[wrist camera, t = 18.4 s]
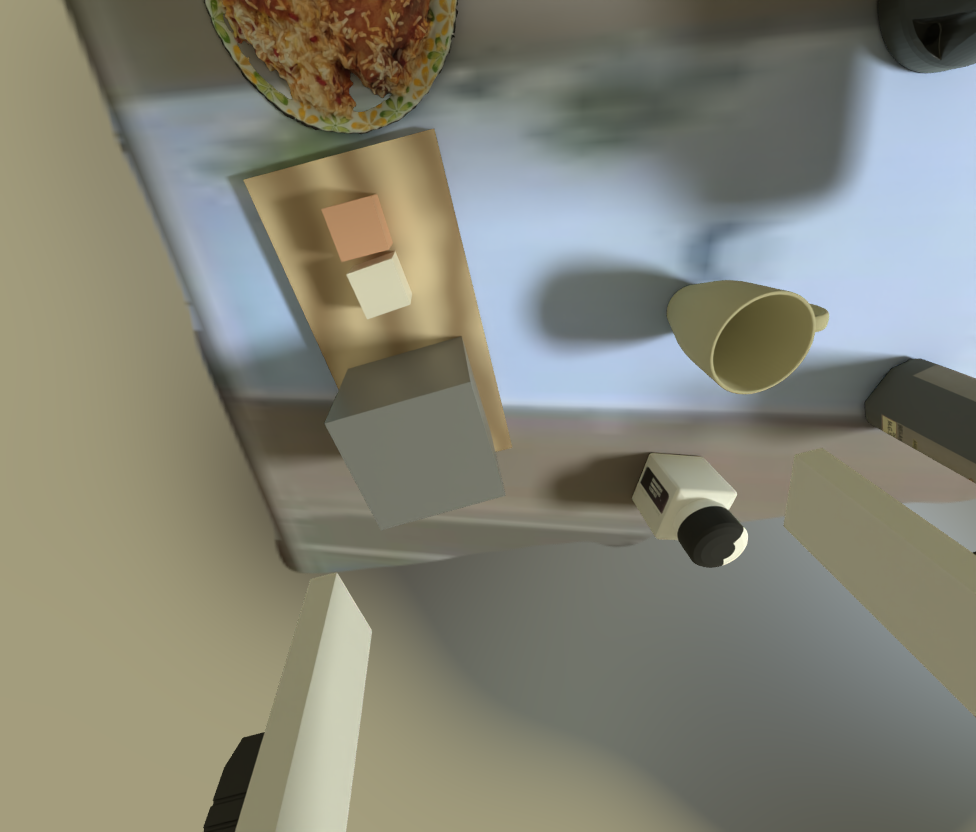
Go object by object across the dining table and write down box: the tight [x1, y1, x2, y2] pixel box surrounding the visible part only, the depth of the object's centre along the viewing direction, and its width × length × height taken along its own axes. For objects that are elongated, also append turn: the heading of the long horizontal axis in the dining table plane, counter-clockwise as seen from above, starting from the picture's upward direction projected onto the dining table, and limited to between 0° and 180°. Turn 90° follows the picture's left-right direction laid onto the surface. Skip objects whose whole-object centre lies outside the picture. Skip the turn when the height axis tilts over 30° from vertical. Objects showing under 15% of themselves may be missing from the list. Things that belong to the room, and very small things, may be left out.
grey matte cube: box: [324, 336, 506, 530], centre depth 42 cm, size 12×12×11 cm
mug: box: [667, 280, 829, 394], centre depth 41 cm, size 11×10×12 cm
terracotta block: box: [321, 194, 393, 262], centre depth 36 cm, size 4×4×4 cm
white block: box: [346, 251, 412, 319], centre depth 38 cm, size 4×4×4 cm
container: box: [632, 453, 748, 568], centre depth 52 cm, size 8×8×13 cm
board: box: [244, 129, 512, 452], centre depth 44 cm, size 16×32×2 cm, turn 13°
